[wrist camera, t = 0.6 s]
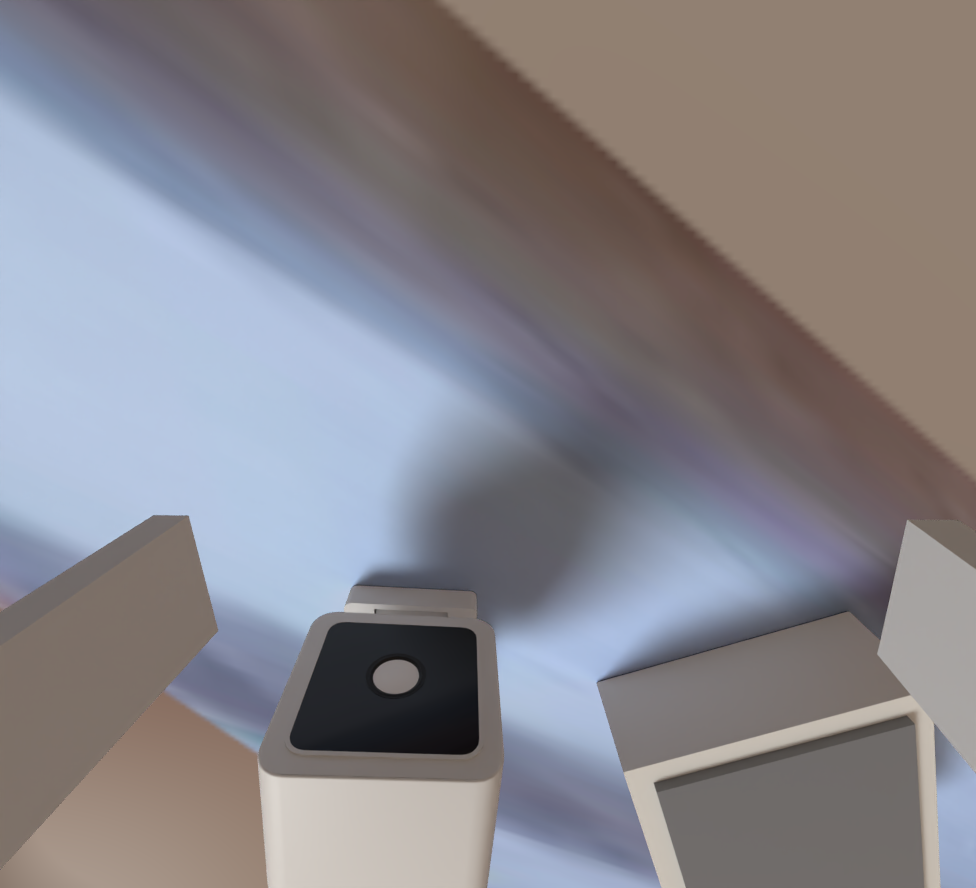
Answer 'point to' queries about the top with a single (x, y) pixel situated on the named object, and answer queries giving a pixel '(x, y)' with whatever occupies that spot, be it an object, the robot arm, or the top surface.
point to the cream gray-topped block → (780, 764)
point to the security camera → (386, 747)
